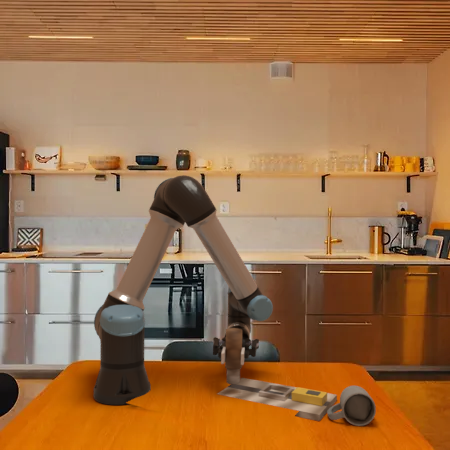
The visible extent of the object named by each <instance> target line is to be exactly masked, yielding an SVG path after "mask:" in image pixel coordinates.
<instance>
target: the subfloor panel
mask: <svg viewBox="0 0 450 450" xmlns="http://www.w3.org/2000/svg"><path fill="white" fill-rule="evenodd" d="M297 387H298V386H297ZM297 387H295V386H291V385H286V384H279V383H275V382H274V383H273V382H268V381H263V380H257V379H252V378H251V379H250V378H246V377H240V383H239V384H228V386H226V387H225V388H224V389H222V390H221V391H219V392H217V393H216V395H219V396H223V397H229V398H234V399H239V400H243V401H250V402H253V403H259V404H263V405H267V406H268V405H269V406H274V407H278V408H283V409H289V410H293V411H298V412H297V413H296V414H295V415H294V417H297V418H303V419H307V420H312V421H316V422H320V421H321V420H322V419H323V417H325V415H326V414H327V411H328V409H329V408H331V407H332V406H334V405H335V403H336V402H337V401H338V399H337V397H338V394H335V393H334V394H333V393H330V392H327V401H326V402H325V403H324V405H323V406H319V405H314V404H309V403H304V402H299V401H293V400H292V392H293V391H294V390H295V389H296V388H297Z"/></svg>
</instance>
